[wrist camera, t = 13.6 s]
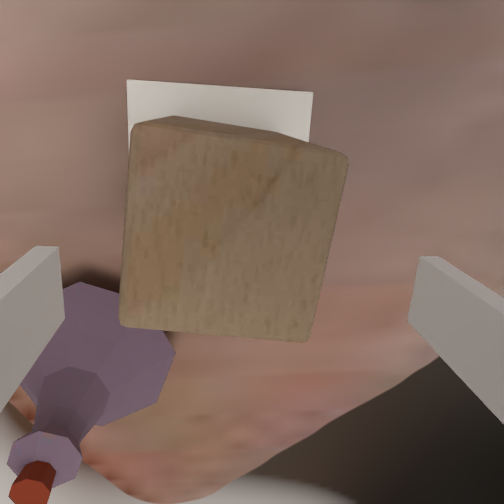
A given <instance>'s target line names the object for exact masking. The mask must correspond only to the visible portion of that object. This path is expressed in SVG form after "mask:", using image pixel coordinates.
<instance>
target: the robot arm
mask: <svg viewBox="0 0 504 504" xmlns="http://www.w3.org/2000/svg"><path fill="white" fill-rule="evenodd" d="M64 319H65V312H64V300H63V289H62V278H61V266H60V255H59V247H56V246H35V247H34V248H32V249H31V250H30V251H29V252H27V253H26V254H25V255H23V256H22V257H21V258H20V259H18V260H17V261H16V262H15V263H13V264H12V265H11V266H10V267H8V268H7V269H6V270H4V271H3V272H2V273H1V274H0V412H1V411H2V409H3V408H4V407H5V405H6V404H7V402H8V401H9V399H10V398H11V396H12V395H13V393H14V392H15V391H16V389H17V388H18V386H19V385H20V383H21V382H22V380H23V379H24V377H25V376H26V375H27V373H28V372H29V370H30V369H31V367H32V366H33V364H34V363H35V361H36V360H37V359H38V357H39V356H40V354H41V353H42V351H43V350H44V348H45V347H46V345H47V344H48V342H49V341H50V340H51V338H52V337H53V335H54V334H55V332H56V331H57V329H58V328H59V326H60V325H61V324H62V322H63V321H64ZM407 321H408V323H409V324H410V325H411V326H412V327H413V328H414V329H415V330H416V331H417V332H418V333H419V334H420V335H421V336H422V337H423V339H424V340H425V341H426V342H427V343H428V344H429V345H430V346H431V347H432V348H433V349H434V350H435V351H436V352H437V353H438V355H439V356H440V357H441V358H442V359H443V360H444V361H445V362H446V363H447V364H448V365H449V366H450V367H451V368H452V369H453V371H454V372H455V373H456V374H457V375H458V376H459V377H460V378H461V379H462V380H463V381H464V382H465V383H466V384H467V386H468V387H469V388H470V389H471V390H472V391H473V392H474V393H475V394H476V395H477V396H478V397H479V398H480V399H481V400H482V402H484V404H485V405H486V406H487V407H488V408H489V409H490V410H491V411H492V412H493V413H494V414H495V415H496V416H497V418H498V419H499V420H500V421H501V422H502V423H503V424H504V298H503V297H501V296H500V295H498V294H497V293H495V292H494V291H492V290H491V289H489V288H487V287H486V286H484V285H483V284H481V283H480V282H478V281H476V280H475V279H473V278H472V277H470V276H469V275H467V274H466V273H464V272H462V271H461V270H459V269H458V268H456V267H455V266H453V265H451V264H450V263H448V262H447V261H445V260H444V259H442V258H441V257H439V256H420V258H419V263H418V268H417V273H416V279H415V284H414V289H413V294H412V299H411V304H410V310H409V315H408V320H407Z"/></svg>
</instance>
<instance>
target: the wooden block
mask: <svg viewBox="0 0 504 504" xmlns="http://www.w3.org/2000/svg"><path fill="white" fill-rule="evenodd" d="M347 170H348V159H347V157H346V156H345V155H343V154H342V153H340V152H337V151H334V150H330V149H327V148H324V147H321V146H318V145H315V144H312V143H309V142H306V141H303V140H300V139H297V138H294V137H291V136H287V135H284V134H281V133H278V132H274V131H268V130H262V129H255V128H249V127H243V126H237V125H231V124H225V123H218V122H212V121H206V120H200V119H194V118H188V117H182V116H175V115H173V116H168V117H163V118H158V119H153V120H148V121H143V122H139V123H135V124H134V126H133V128H132V130H131V133H130V147H129V162H128V176H127V191H126V205H125V220H124V234H123V249H122V263H121V278H120V292H119V307H118V318H119V321H120V324H121V325H122V326H125V327H129V328H140V329H152V330H163V331H175V332H186V333H197V334H209V335H220V336H231V337H243V338H254V339H265V340H277V341H288V342H299V343H303V342H307V341H308V339H309V337H310V335H311V330H312V326H313V321H314V317H315V313H316V308H317V304H318V299H319V295H320V290H321V286H322V281H323V277H324V272H325V268H326V263H327V259H328V255H329V250H330V246H331V241H332V237H333V232H334V228H335V223H336V219H337V214H338V210H339V205H340V201H341V197H342V192H343V188H344V183H345V179H346V174H347Z"/></svg>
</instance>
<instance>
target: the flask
mask: <svg viewBox="0 0 504 504" xmlns="http://www.w3.org/2000/svg"><path fill="white" fill-rule="evenodd" d="M63 300H64V312H65V319H64V321H63V322H62V324H61V325H60V326H59V328H58V329H57V331H56V332H55V334H54V335H53V337H52V338H51V340H50V341H49V342H48V344H47V345H46V347H45V348H44V350H43V351H42V353H41V354H40V356H39V357H38V359H37V360H36V361H35V363H34V364H33V366H32V367H31V369H30V370H29V372H28V373H27V375H26V376H25V377H24V379H23V380H22V382H21V383H20V385H21V387H22V388H23V389H24V390H25V392H26V393H27V394H28V396H29V397H30V398H31V400H32V401H33V402H34V404H35V405H36V406H37V409H36V416H35V423H34V426H33V428H32V431H31V432H30V433H28V434H26V435H24V436H23V437H21V438H19V439H18V440H16V441H14V442H13V445H12V448H11V452H10V455H9V459H8V462H7V465H8V466H9V467H10V468H11V469H12V471H13V472H14V473H15V474H16V475H17V476H18V477H17V478H16V480H15V481H14V483H13V484H12V487H11V490H10V493H9V498H10V499H11V500H12V501H13V502H14V503H15V504H47V501H48V499H49V496H50V492H51V489H52V488H53V487H56V486H58V485H60V484H63V483H65V482H67V481H70V480H72V479H75V478H76V475H77V472H78V469H79V466H80V463H81V461H82V458H83V457H82V454H81V450H80V447H79V444H80V442H81V440H82V439H83V438H84V437H85V435H86V434H87V433H88V432H89V431H90V429H91V428H92V427H93V426H94V425H99V426H103V425H106V424H108V423H110V422H113V421H115V420H117V419H120V418H122V417H124V416H127V415H129V414H131V413H133V412H136V411H138V410H140V409H143V408H145V407H147V406H150V405H152V404H154V403H156V402H157V400H158V397H159V394H160V392H161V389H162V387H163V384H164V381H165V379H166V376H167V374H168V371H169V369H170V366H171V363H172V361H173V358H174V356H175V351H174V349H173V347H172V346H171V344H170V342H169V340H168V339H167V337H166V335H165V334H164V332H163V330H152V329H140V328H129V327H125V326H122V325H121V324H120V321H119V318H118V307H119V293H116V292H112V291H109V290H106V289H103V288H99V287H96V286H93V285H89V284H86V283H83V282H78V283H75V284H73V285H71V286H69V287H66V288H64V289H63Z"/></svg>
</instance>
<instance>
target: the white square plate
mask: <svg viewBox="0 0 504 504" xmlns="http://www.w3.org/2000/svg"><path fill="white" fill-rule="evenodd" d="M312 102H313V92H302V91H287V90H273V89H258V88H244V87H230V86H215V85H201V84H186V83H172V82H157V81H143V80H128V79H127V106H128V139H129V147H130V133H131V130H132V128H133V126H134V124H135V123H139V122H143V121H148V120H153V119H158V118H163V117H168V116H173V115H175V116H182V117H188V118H194V119H200V120H206V121H212V122H218V123H225V124H231V125H237V126H243V127H249V128H255V129H262V130H268V131H274V132H278V133H281V134H284V135H287V136H291V137H294V138H297V139H300V140H303V141H306V142H309V132H310V122H311V112H312Z"/></svg>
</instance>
